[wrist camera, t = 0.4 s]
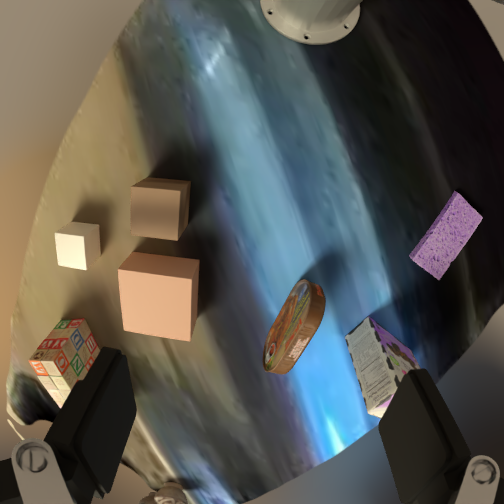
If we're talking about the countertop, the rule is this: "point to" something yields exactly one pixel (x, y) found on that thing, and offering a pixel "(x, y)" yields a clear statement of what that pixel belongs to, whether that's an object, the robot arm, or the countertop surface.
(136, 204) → the walnut cube
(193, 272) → the terracotta block
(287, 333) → the tin
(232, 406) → the countertop surface
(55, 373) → the stack of blocks
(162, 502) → the pottery
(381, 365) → the candy box
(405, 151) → the countertop surface
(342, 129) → the countertop surface
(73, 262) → the off-white cube
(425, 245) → the sponges
